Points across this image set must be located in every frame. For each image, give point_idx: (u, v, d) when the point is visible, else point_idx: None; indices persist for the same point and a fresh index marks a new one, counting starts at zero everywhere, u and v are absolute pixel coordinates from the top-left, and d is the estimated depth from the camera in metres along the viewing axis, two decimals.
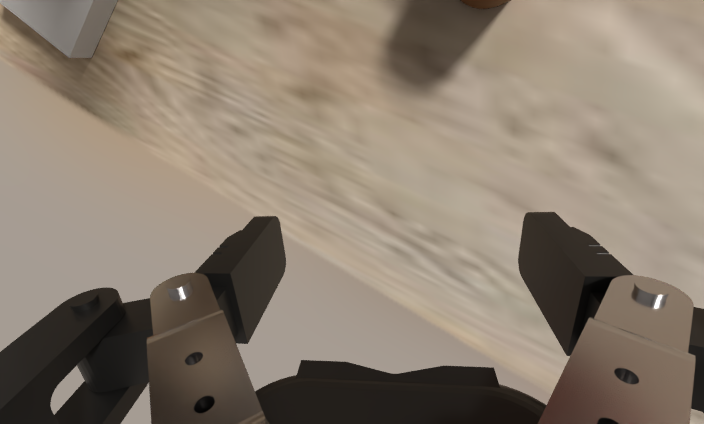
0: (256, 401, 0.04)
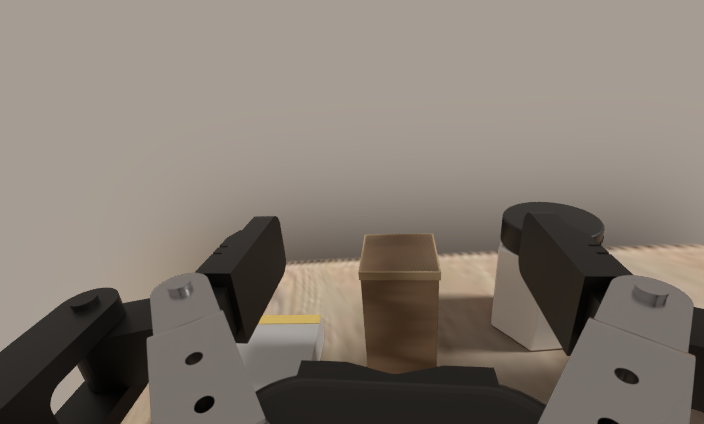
0: (256, 401, 0.04)
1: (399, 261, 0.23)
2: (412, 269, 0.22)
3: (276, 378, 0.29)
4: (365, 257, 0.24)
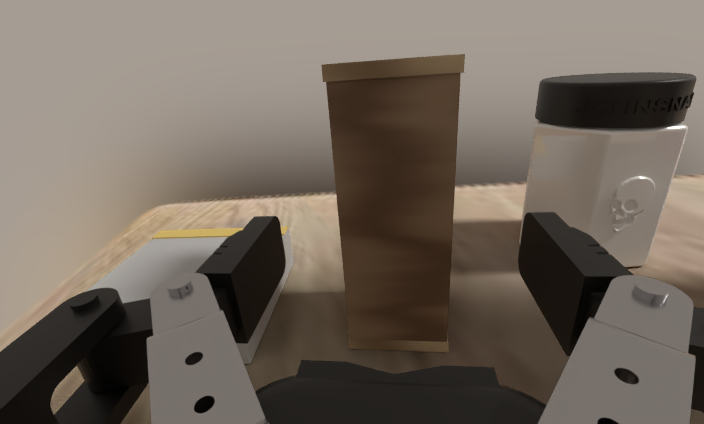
0: (256, 401, 0.04)
1: None
2: (414, 58, 0.13)
3: None
4: (337, 63, 0.15)
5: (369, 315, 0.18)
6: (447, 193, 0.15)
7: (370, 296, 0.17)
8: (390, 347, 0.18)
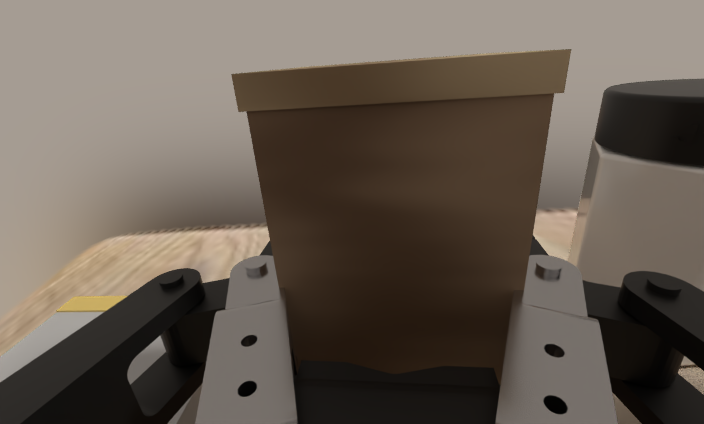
0: (293, 399, 0.04)
1: (393, 61, 0.07)
2: None
3: None
4: (283, 69, 0.07)
5: None
6: (503, 330, 0.07)
7: None
8: None
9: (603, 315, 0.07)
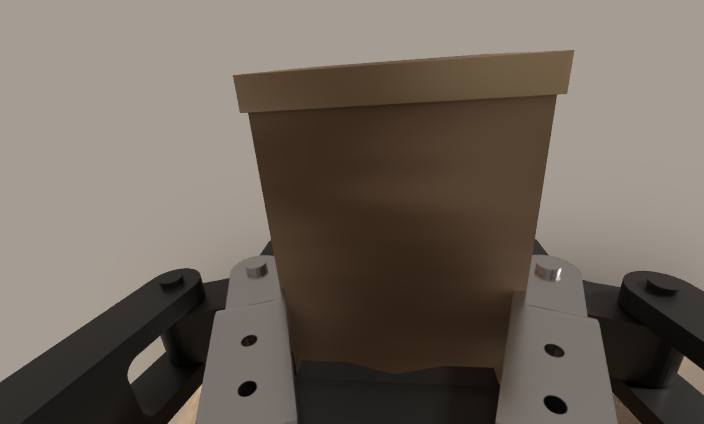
0: (293, 399, 0.04)
1: (395, 62, 0.07)
2: None
3: None
4: (284, 70, 0.07)
5: None
6: (505, 331, 0.07)
7: None
8: None
9: (603, 315, 0.07)
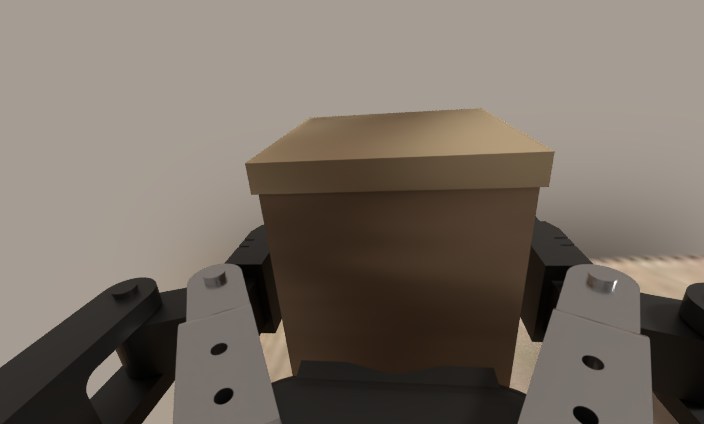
0: (272, 399, 0.04)
1: (394, 141, 0.07)
2: (440, 151, 0.06)
3: None
4: (290, 139, 0.08)
5: None
6: None
7: None
8: None
9: (666, 331, 0.06)
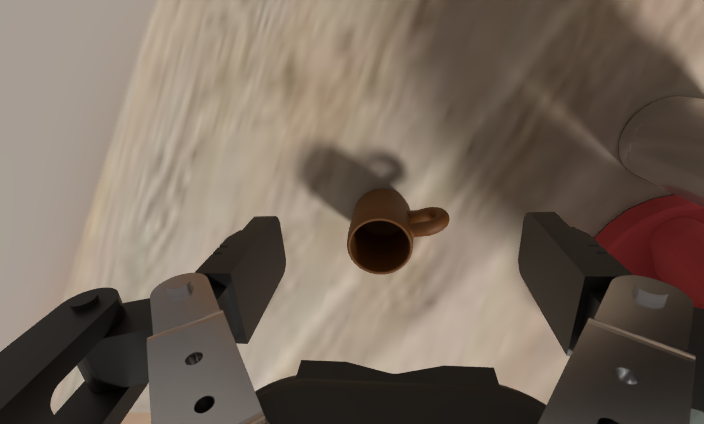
0: (256, 401, 0.04)
1: None
2: None
3: None
4: None
5: None
6: None
7: None
8: None
9: None
